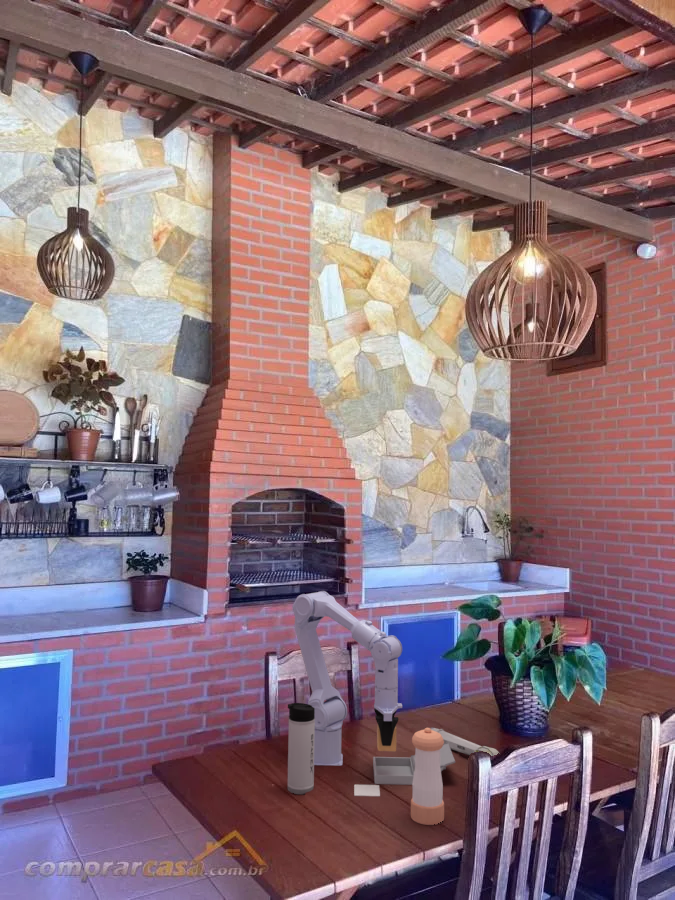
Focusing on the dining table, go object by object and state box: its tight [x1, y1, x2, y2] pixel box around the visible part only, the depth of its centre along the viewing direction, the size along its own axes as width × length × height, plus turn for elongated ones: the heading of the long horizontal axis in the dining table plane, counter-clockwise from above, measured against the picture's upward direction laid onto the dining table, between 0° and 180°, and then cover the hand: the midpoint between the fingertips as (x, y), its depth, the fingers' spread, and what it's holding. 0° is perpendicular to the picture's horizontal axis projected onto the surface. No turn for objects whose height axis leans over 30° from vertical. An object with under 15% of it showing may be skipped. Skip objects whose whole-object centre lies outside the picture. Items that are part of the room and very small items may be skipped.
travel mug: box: [287, 702, 315, 795], centre depth 168 cm, size 6×7×20 cm
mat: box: [353, 784, 381, 797], centre depth 166 cm, size 6×6×1 cm
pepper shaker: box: [410, 727, 445, 826], centre depth 154 cm, size 7×7×19 cm
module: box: [376, 722, 397, 752], centre depth 175 cm, size 4×4×6 cm
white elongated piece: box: [429, 727, 500, 756], centre depth 190 cm, size 5×7×25 cm
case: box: [372, 744, 456, 786], centre depth 175 cm, size 20×13×6 cm, turn 89°
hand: (385, 741), depth 175 cm, fingers closed on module, 4 cm apart
